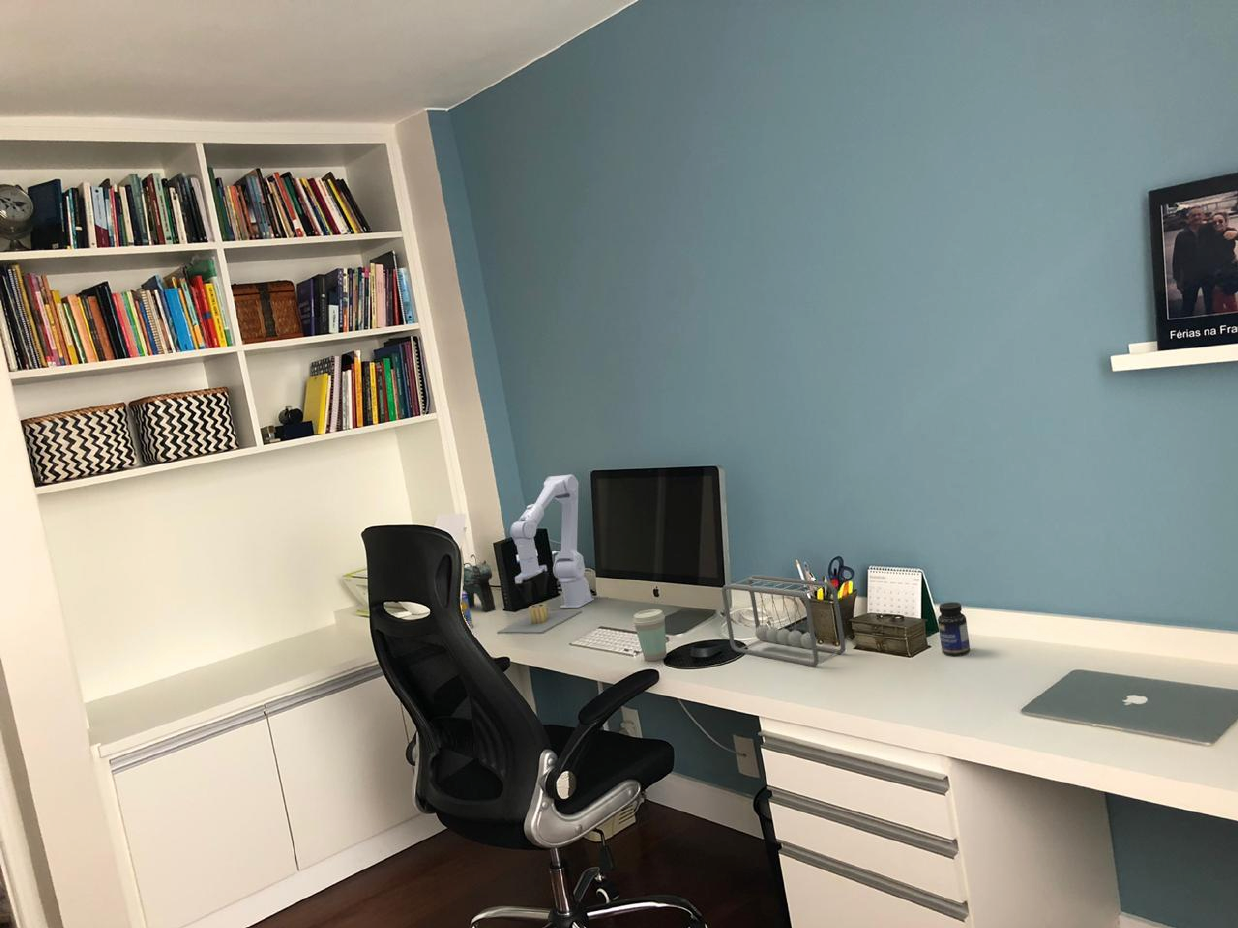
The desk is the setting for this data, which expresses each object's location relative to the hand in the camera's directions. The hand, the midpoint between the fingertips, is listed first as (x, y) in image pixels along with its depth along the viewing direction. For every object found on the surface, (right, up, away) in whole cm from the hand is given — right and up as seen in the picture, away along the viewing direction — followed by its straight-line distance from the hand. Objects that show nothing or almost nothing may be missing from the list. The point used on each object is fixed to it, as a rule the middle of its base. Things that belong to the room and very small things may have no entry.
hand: (535, 598), depth 319 cm
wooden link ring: (+1, -7, +1) cm, 7 cm away
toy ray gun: (-23, -9, +37) cm, 44 cm away
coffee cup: (+36, -8, -58) cm, 69 cm away
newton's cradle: (+68, -4, -73) cm, 100 cm away
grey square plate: (+1, -8, +1) cm, 8 cm away
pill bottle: (+103, +1, -94) cm, 140 cm away
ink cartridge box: (-26, -12, +11) cm, 31 cm away
